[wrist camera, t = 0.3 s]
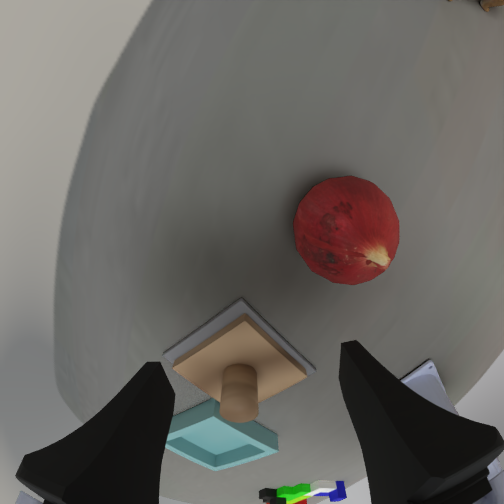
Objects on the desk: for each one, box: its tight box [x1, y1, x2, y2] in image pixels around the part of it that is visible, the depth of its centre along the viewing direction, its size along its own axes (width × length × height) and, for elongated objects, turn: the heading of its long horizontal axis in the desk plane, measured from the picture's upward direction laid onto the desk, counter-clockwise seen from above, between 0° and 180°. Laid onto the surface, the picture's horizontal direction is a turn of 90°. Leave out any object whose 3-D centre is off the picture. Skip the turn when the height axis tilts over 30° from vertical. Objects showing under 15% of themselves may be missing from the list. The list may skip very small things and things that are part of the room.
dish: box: [165, 398, 279, 471], centre depth 26 cm, size 10×10×2 cm
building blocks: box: [259, 480, 347, 504], centre depth 35 cm, size 15×13×4 cm
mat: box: [162, 297, 316, 377], centre depth 23 cm, size 10×9×1 cm
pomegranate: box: [293, 176, 399, 285], centre depth 14 cm, size 6×6×8 cm
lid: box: [172, 313, 307, 423], centre depth 20 cm, size 8×8×5 cm
